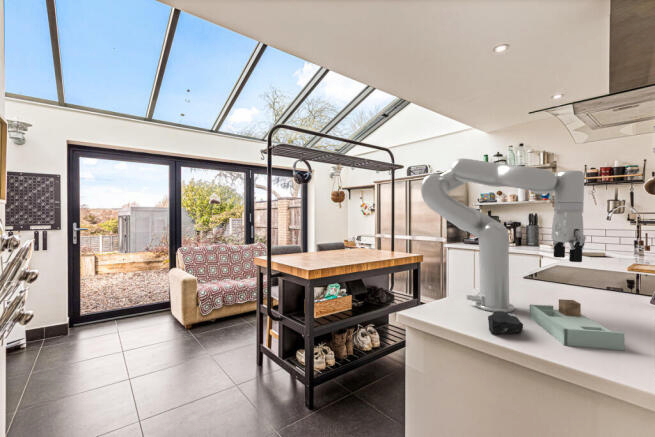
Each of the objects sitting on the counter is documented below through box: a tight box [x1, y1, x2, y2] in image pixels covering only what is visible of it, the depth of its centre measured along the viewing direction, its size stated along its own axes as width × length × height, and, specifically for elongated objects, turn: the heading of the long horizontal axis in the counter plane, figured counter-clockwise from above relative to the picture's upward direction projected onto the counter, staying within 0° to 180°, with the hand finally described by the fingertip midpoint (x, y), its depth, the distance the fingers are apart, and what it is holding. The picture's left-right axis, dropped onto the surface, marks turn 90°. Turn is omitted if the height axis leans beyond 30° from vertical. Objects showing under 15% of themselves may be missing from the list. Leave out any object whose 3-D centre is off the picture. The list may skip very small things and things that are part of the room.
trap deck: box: [529, 304, 626, 351], centre depth 86 cm, size 13×22×4 cm, turn 165°
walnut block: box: [558, 298, 582, 317], centre depth 92 cm, size 4×4×4 cm
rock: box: [487, 311, 524, 335], centre depth 87 cm, size 10×9×6 cm
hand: (566, 259), depth 98 cm, fingers open, 9 cm apart
